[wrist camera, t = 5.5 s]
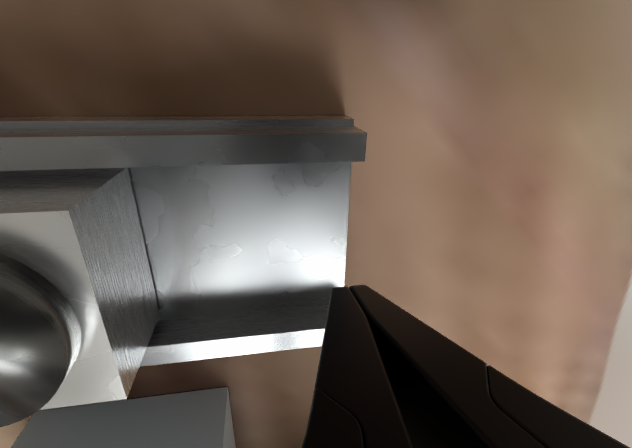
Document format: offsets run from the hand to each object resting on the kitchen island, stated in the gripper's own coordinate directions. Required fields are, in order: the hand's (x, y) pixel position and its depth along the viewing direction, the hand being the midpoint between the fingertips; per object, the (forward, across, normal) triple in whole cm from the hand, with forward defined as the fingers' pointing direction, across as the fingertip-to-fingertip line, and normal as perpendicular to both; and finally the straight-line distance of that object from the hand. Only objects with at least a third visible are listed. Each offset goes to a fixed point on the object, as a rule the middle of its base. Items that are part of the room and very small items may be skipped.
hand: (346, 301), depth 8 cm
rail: (+5, +6, 0) cm, 8 cm away
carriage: (+4, +8, 0) cm, 9 cm away
